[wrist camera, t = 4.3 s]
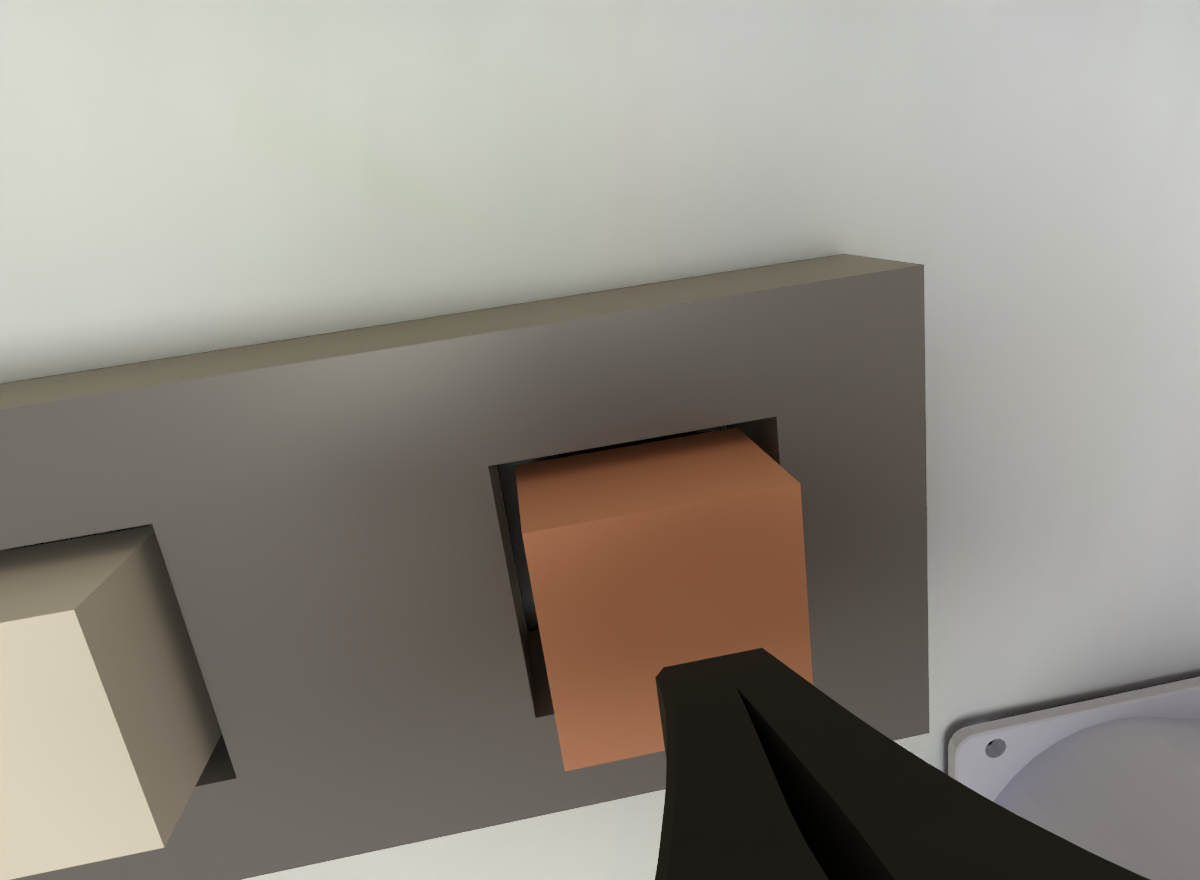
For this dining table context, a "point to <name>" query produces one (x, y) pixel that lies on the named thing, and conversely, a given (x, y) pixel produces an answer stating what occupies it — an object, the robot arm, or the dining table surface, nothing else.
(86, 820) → the beige key
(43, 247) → the dining table surface
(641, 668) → the terracotta key
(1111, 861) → the robot arm
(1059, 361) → the dining table surface
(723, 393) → the key block
